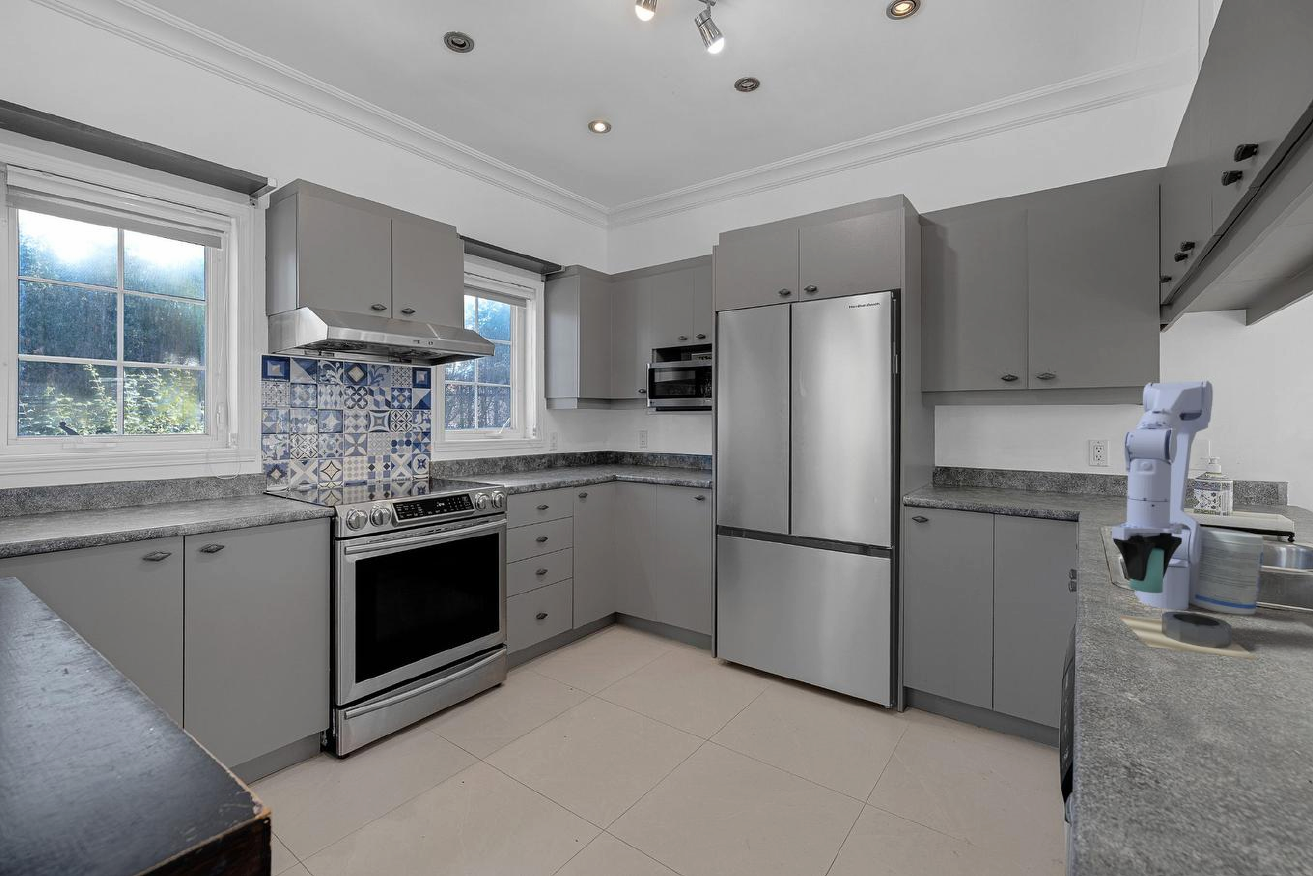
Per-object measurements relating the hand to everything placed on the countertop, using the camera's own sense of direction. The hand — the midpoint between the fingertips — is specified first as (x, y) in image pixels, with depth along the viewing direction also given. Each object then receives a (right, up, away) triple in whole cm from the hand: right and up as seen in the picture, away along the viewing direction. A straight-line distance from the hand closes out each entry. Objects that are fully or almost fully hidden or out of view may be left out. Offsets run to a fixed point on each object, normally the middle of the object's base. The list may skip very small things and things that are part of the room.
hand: (1146, 578), depth 104 cm
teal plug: (0, -2, 0) cm, 2 cm away
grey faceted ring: (+2, -8, -7) cm, 11 cm away
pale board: (+1, -9, -5) cm, 10 cm away
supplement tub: (+21, -8, +10) cm, 25 cm away
